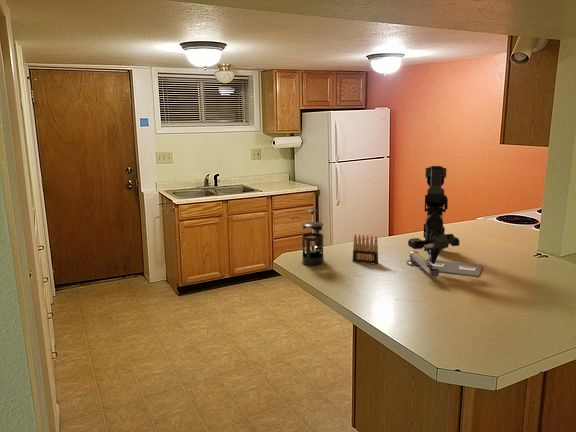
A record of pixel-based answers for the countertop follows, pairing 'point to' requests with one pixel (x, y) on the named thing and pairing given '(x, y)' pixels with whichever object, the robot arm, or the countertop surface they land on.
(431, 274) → the cable arm
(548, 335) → the countertop surface
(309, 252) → the french press
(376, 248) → the ammunition clip
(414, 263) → the pivot post
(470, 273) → the label board
